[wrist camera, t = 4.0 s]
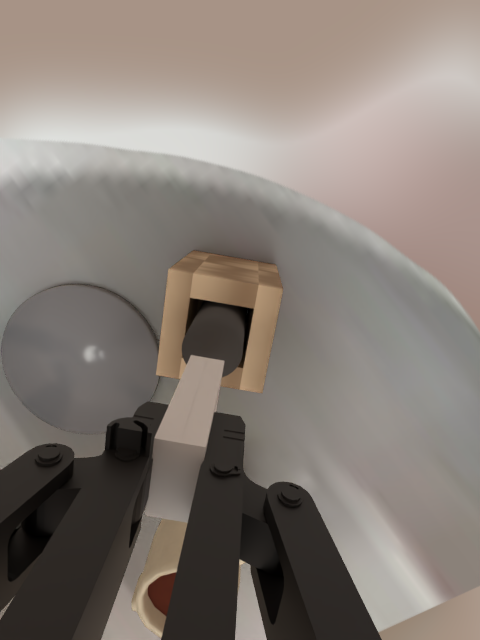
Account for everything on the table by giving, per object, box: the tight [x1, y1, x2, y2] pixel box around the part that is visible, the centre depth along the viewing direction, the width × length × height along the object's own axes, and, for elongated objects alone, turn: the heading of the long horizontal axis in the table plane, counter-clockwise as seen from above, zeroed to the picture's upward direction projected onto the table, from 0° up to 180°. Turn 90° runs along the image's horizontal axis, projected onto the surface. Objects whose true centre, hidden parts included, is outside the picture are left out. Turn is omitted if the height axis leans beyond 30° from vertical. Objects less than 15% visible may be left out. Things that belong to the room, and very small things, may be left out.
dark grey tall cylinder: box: [182, 300, 247, 377], centre depth 27 cm, size 3×3×10 cm
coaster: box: [1, 284, 160, 434], centre depth 37 cm, size 14×14×1 cm
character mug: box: [132, 519, 246, 638], centre depth 34 cm, size 11×7×13 cm, turn 122°
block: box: [156, 250, 283, 393], centre depth 30 cm, size 7×7×10 cm
